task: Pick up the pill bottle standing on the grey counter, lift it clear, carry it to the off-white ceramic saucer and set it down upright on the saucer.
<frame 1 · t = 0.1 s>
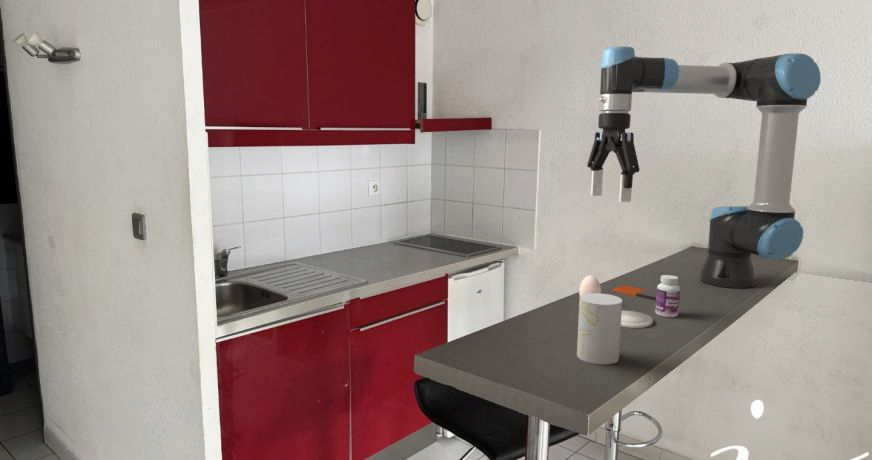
hand: (609, 198, 151), 28 cm above the breakfast bar, fingers open, 13 cm apart
phone: (641, 296, 167), on the breakfast bar
pill bottle: (666, 315, 148), on the breakfast bar
saucer: (628, 320, 143), on the breakfast bar
white upright cylinder: (597, 357, 120), on the breakfast bar
egg: (589, 305, 156), on the breakfast bar
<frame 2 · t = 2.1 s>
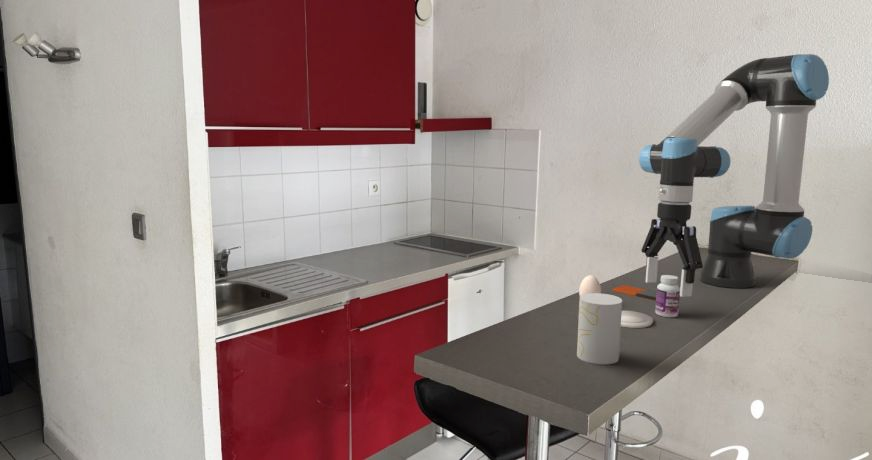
hand: (667, 289, 147), 7 cm above the breakfast bar, fingers open, 13 cm apart
nothing on the breakfast bar moved.
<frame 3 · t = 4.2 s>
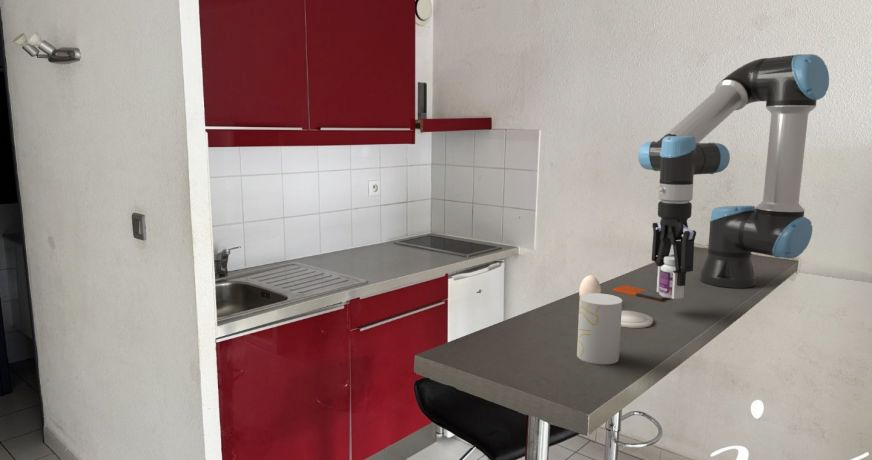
hand: (669, 294, 147), 5 cm above the breakfast bar, fingers closed on pill bottle, 5 cm apart
pill bottle: (670, 296, 148), point 4 cm above the breakfast bar, touching gripper
everything else where it was.
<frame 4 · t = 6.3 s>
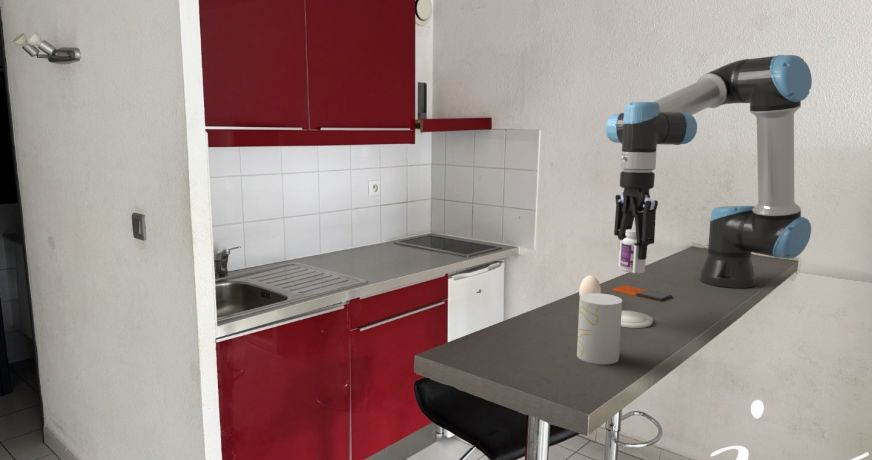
hand: (631, 269, 141), 13 cm above the breakfast bar, fingers closed on pill bottle, 5 cm apart
pill bottle: (632, 271, 141), point 12 cm above the breakfast bar, touching gripper
everything else where it was.
when the fingers open (2 cm above the breakfast bar, at t = 8.4 s): pill bottle stays where it is, resting on saucer.
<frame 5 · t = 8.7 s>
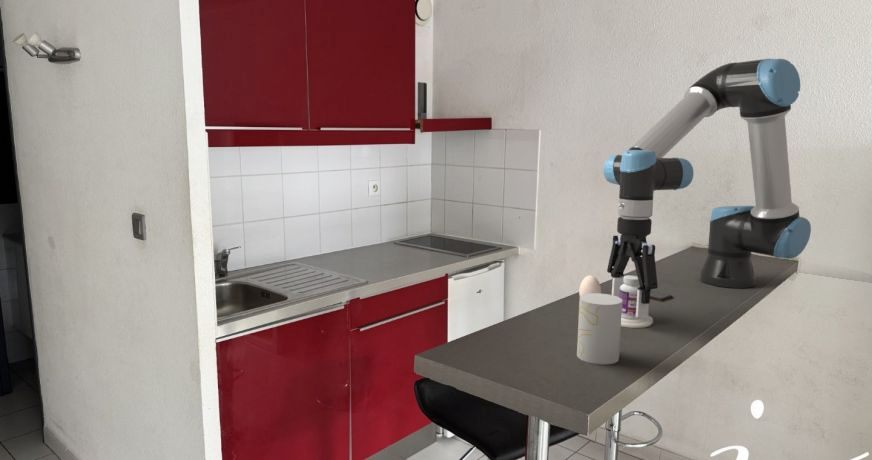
hand: (628, 309, 143), 3 cm above the breakfast bar, fingers open, 10 cm apart
pill bottle: (629, 317, 143), point 1 cm above the breakfast bar, touching saucer
everything else where it was.
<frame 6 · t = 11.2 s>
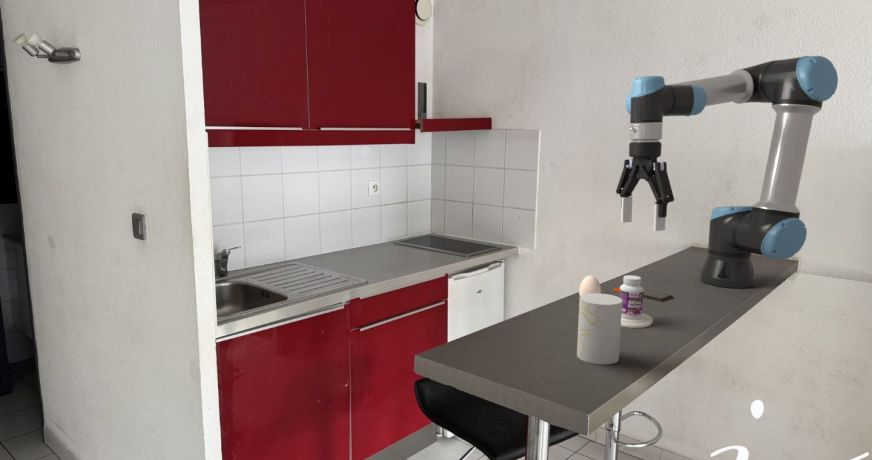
hand: (642, 226, 151), 21 cm above the breakfast bar, fingers open, 13 cm apart
nothing on the breakfast bar moved.
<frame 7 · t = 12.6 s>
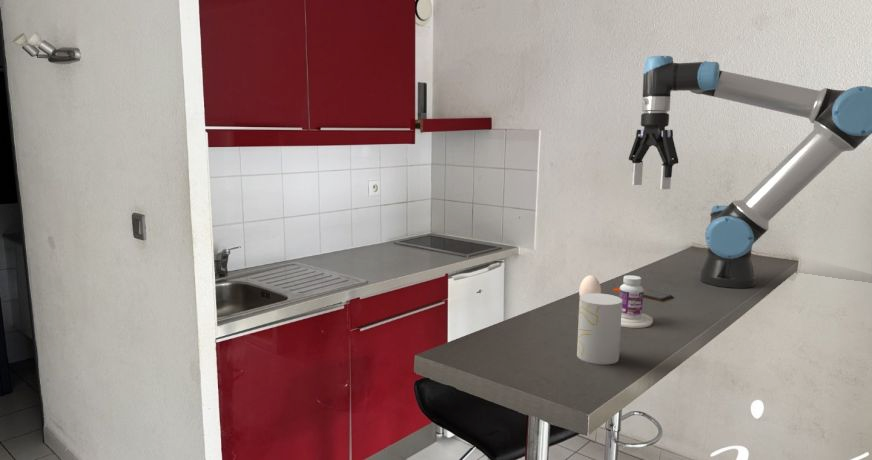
hand: (650, 187, 174), 29 cm above the breakfast bar, fingers open, 13 cm apart
nothing on the breakfast bar moved.
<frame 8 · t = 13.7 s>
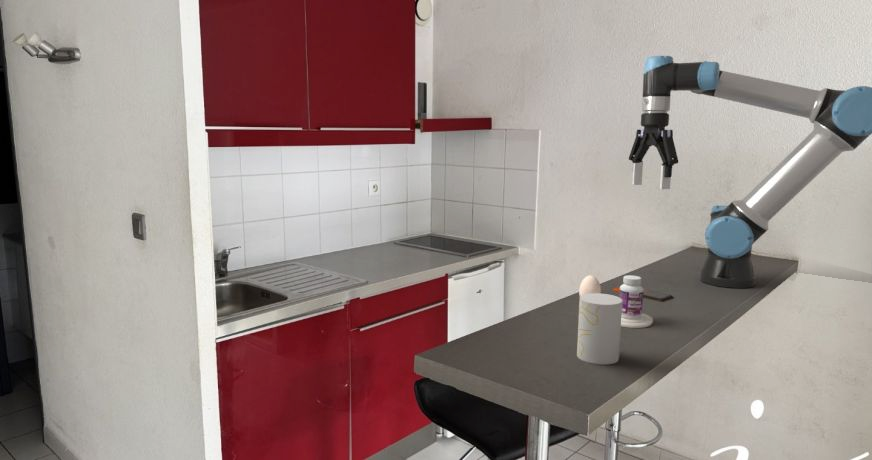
hand: (650, 186, 174), 29 cm above the breakfast bar, fingers open, 13 cm apart
nothing on the breakfast bar moved.
at the end: pill bottle 0.4 cm from the saucer (horizontally); pill bottle tilted 0°; the gripper is holding nothing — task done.
